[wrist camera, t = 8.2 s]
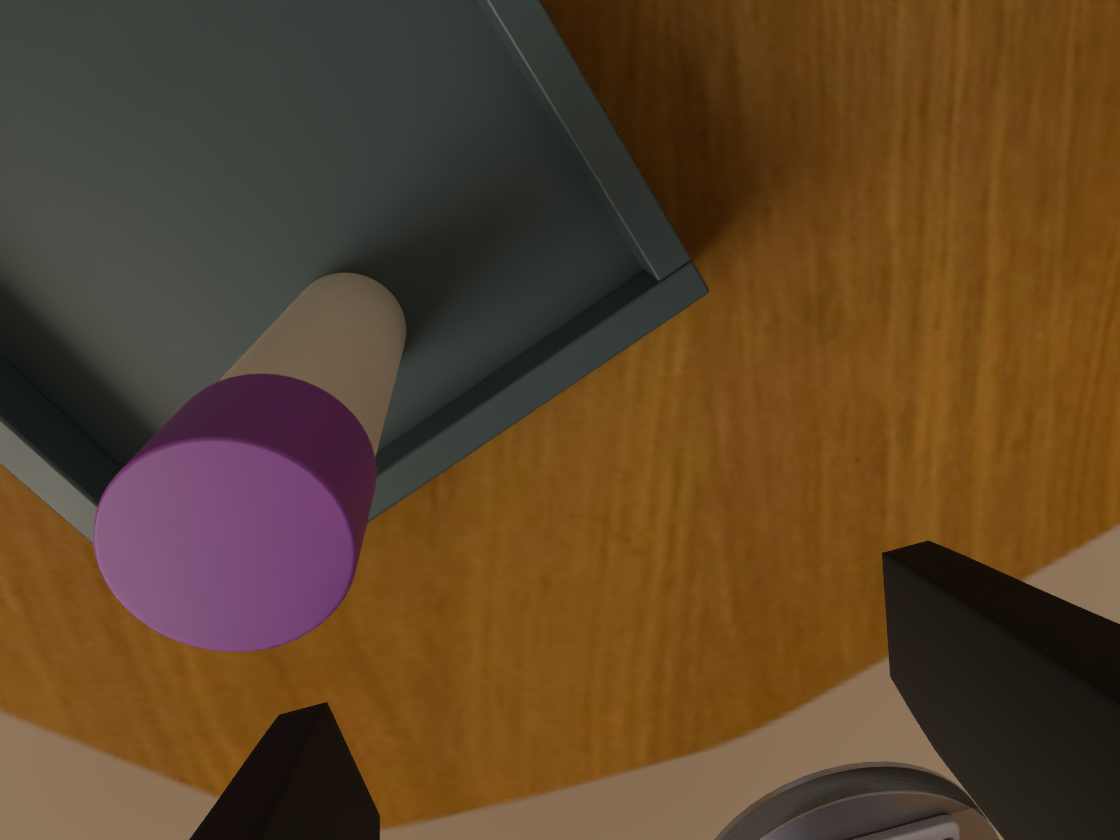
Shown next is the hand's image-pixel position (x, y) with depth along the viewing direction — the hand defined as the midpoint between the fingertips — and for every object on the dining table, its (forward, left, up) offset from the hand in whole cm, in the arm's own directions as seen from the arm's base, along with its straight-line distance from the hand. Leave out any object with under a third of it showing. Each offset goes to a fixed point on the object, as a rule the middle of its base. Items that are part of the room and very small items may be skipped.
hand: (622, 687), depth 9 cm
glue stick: (+3, +4, -9) cm, 10 cm away
